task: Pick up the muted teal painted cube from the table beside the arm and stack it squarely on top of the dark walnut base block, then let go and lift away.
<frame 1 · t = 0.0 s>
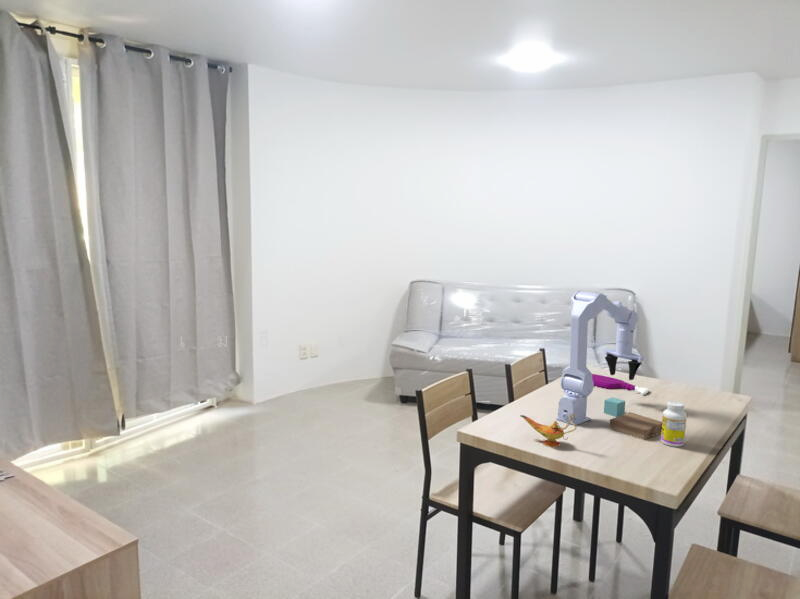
hand: (621, 377, 211), 10 cm above the table, tool pointing down, fingers open, 7 cm apart
teal cube: (614, 413, 201), on the table
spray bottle: (616, 388, 232), on the table
walnut base: (636, 429, 186), on the table
supplement bottle: (672, 443, 176), on the table
magic lamp: (546, 442, 176), on the table
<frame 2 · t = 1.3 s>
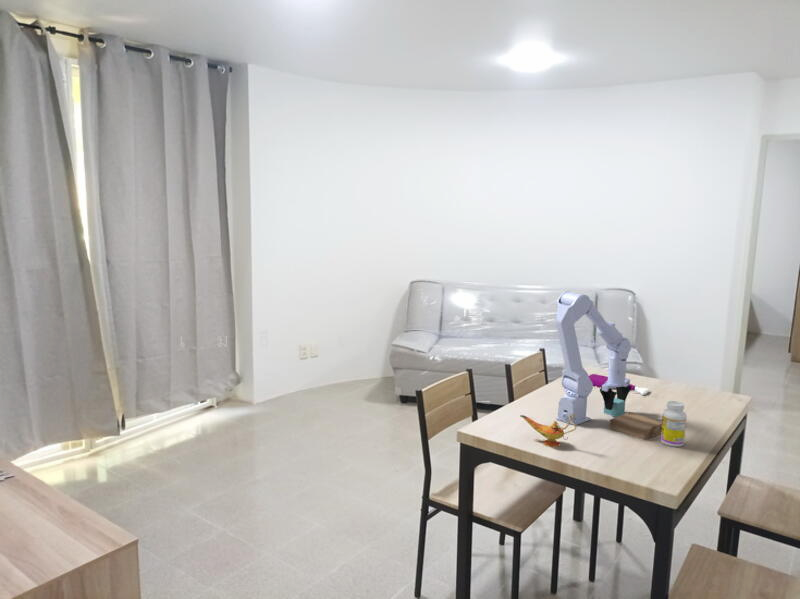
hand: (614, 407, 201), 2 cm above the table, tool pointing down, fingers open, 7 cm apart
nothing on the table moved.
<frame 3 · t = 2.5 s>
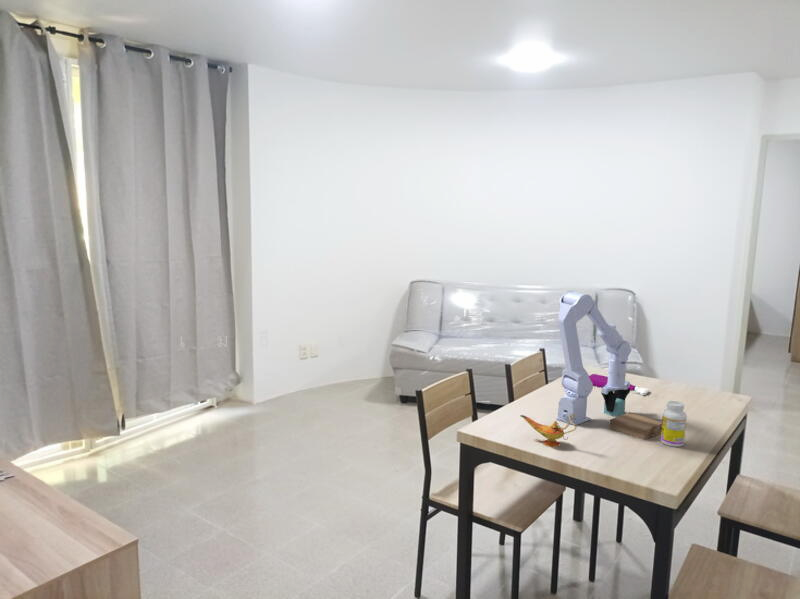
hand: (614, 409, 201), 1 cm above the table, tool pointing down, fingers closed on teal cube, 5 cm apart
teal cube: (614, 413, 201), on the table, touching gripper
everything else where it was.
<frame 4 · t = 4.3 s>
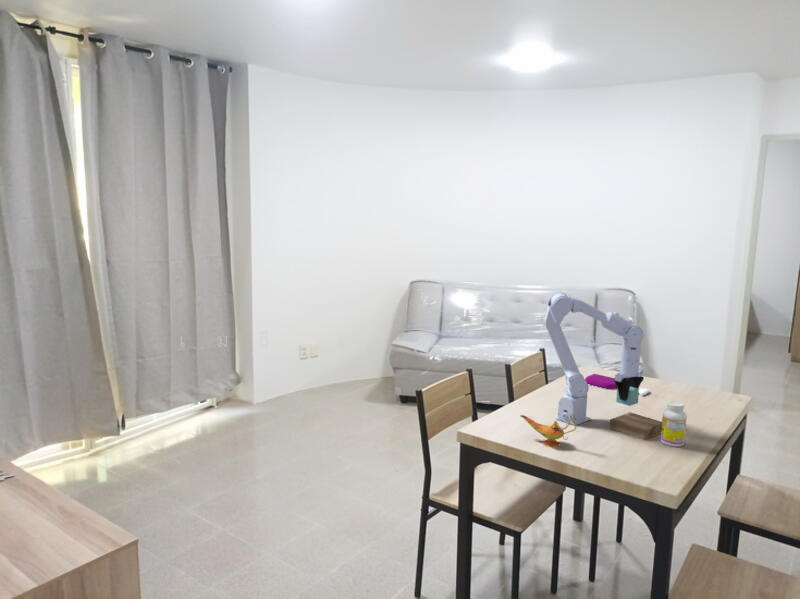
hand: (627, 398, 192), 8 cm above the table, tool pointing down, fingers closed on teal cube, 5 cm apart
teal cube: (627, 402, 192), point 7 cm above the table, touching gripper
everything else where it was.
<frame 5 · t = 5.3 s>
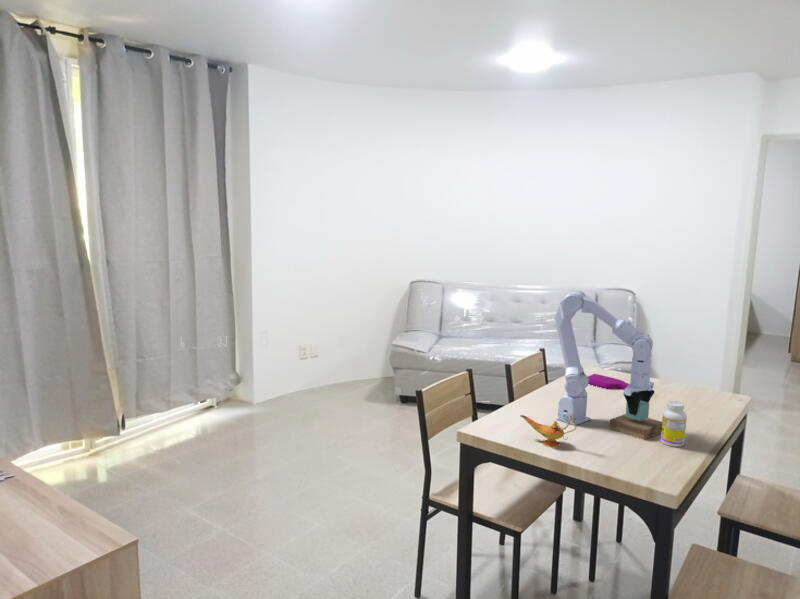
hand: (637, 412, 185), 6 cm above the table, tool pointing down, fingers closed on teal cube, 5 cm apart
teal cube: (636, 416, 186), point 4 cm above the table, touching gripper
everything else where it was.
when the fingers open (6 cm above the table, at t = 6.1 s): teal cube drops 1 cm, resting on walnut base.
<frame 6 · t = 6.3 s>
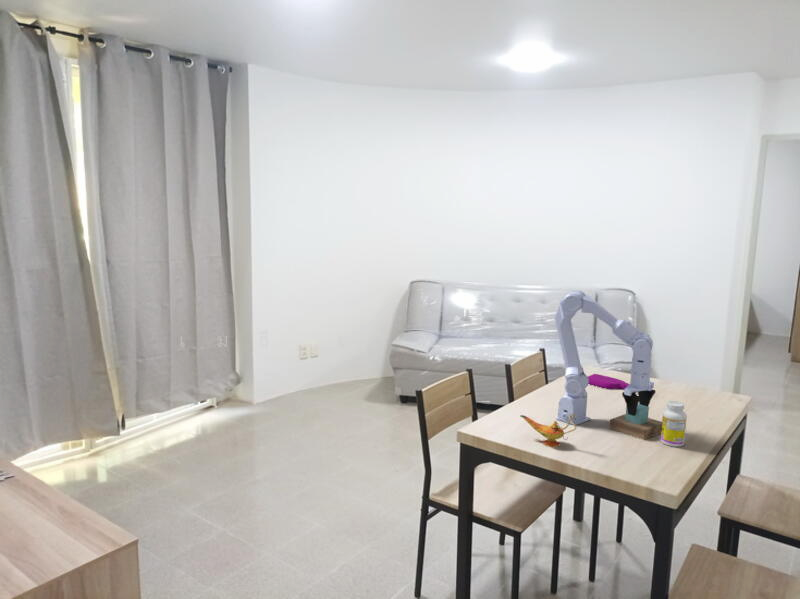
hand: (637, 412, 185), 6 cm above the table, tool pointing down, fingers open, 6 cm apart
teal cube: (636, 421, 186), point 3 cm above the table, touching walnut base
everything else where it was.
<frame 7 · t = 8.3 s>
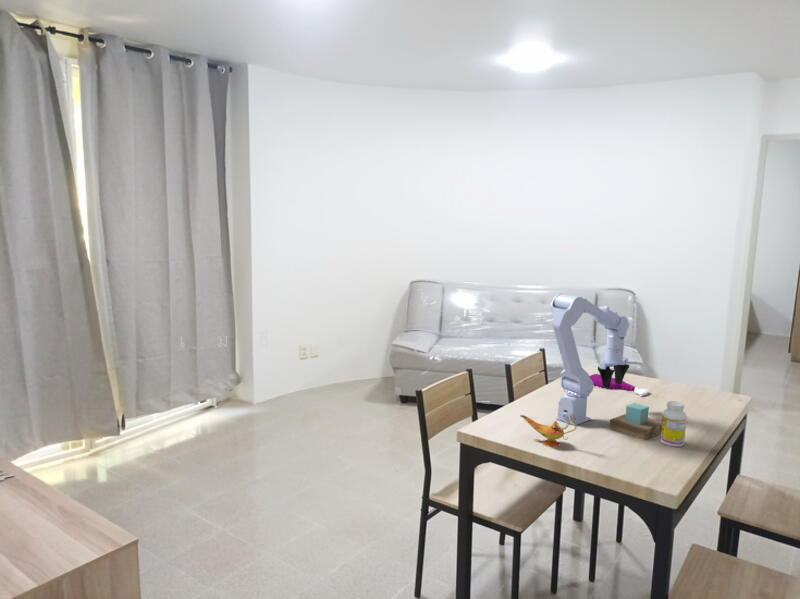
hand: (612, 385, 203), 9 cm above the table, tool pointing down, fingers open, 7 cm apart
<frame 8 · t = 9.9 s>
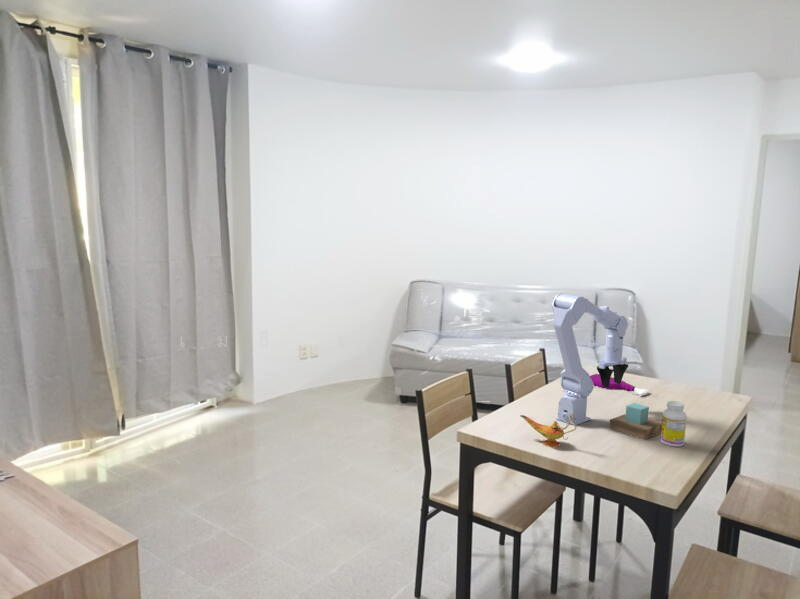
hand: (611, 384, 204), 9 cm above the table, tool pointing down, fingers open, 7 cm apart
at the end: teal cube 0.1 cm off-centre on the walnut base, point 3.0 cm above the walnut base's base; teal cube tilted 0°; the gripper is holding nothing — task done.
